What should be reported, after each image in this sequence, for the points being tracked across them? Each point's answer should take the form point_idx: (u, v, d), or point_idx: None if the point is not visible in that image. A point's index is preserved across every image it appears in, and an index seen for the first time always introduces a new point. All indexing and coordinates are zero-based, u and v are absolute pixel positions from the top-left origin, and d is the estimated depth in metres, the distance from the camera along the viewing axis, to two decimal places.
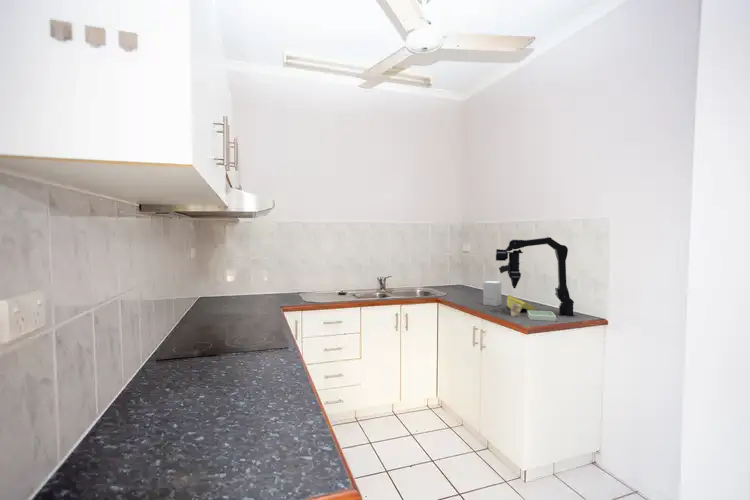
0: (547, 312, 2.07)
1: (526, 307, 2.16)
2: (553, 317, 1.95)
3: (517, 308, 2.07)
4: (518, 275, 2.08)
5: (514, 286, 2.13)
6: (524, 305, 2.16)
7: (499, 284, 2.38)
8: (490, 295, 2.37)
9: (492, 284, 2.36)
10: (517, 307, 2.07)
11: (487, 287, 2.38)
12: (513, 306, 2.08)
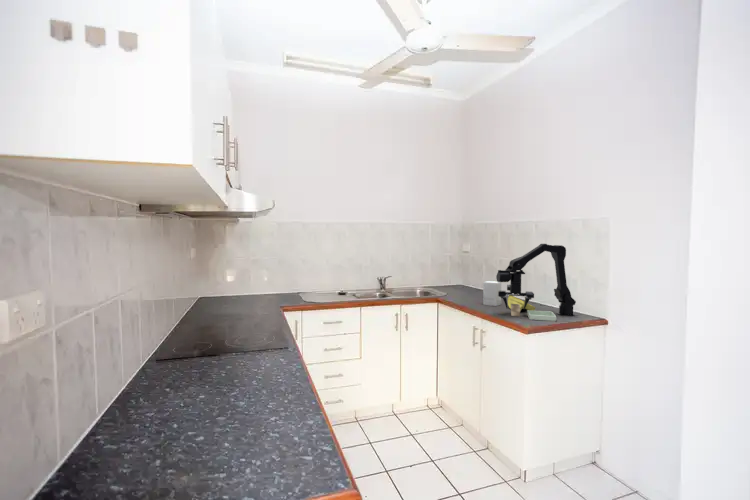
0: (547, 312, 2.07)
1: (526, 307, 2.16)
2: (553, 317, 1.95)
3: (517, 308, 2.07)
4: (498, 295, 2.10)
5: (506, 306, 2.11)
6: None
7: (499, 284, 2.38)
8: (490, 295, 2.37)
9: (492, 284, 2.36)
10: (517, 307, 2.07)
11: (487, 287, 2.38)
12: (513, 306, 2.08)
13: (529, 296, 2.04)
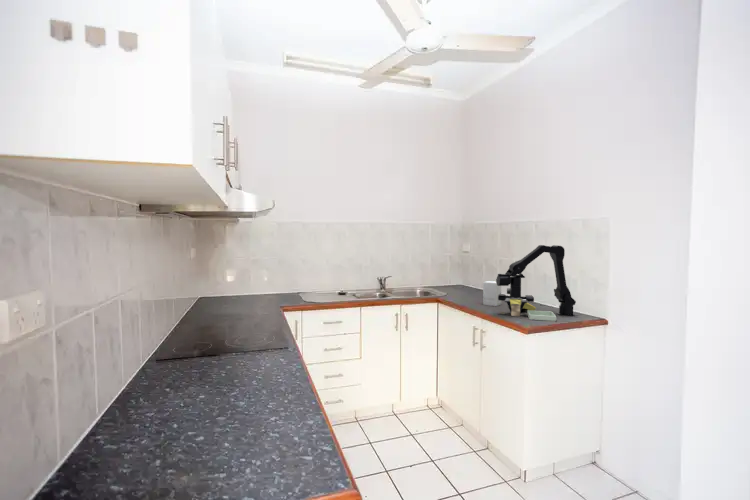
0: (547, 312, 2.07)
1: (526, 307, 2.16)
2: (553, 317, 1.95)
3: (517, 307, 2.07)
4: (498, 298, 2.10)
5: None
6: (524, 305, 2.16)
7: None
8: (490, 295, 2.37)
9: (492, 284, 2.36)
10: (517, 307, 2.07)
11: (487, 287, 2.38)
12: (513, 306, 2.08)
13: (529, 300, 2.04)
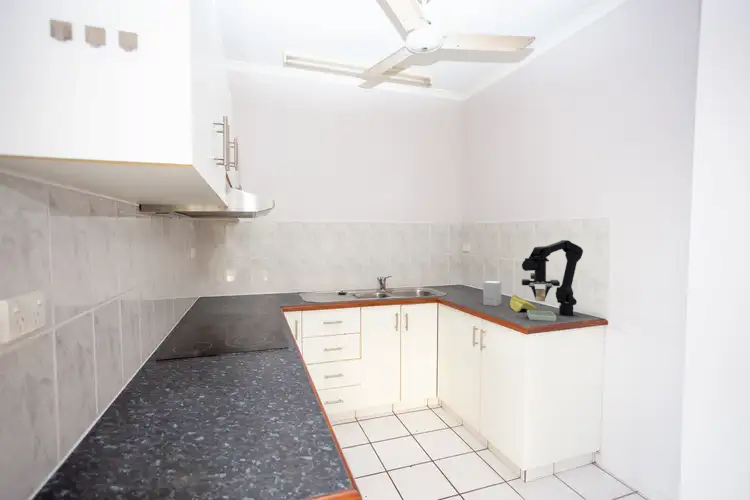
0: (547, 312, 2.07)
1: (526, 307, 2.16)
2: (553, 317, 1.95)
3: (542, 292, 2.00)
4: (522, 283, 2.03)
5: (534, 295, 2.03)
6: (524, 305, 2.16)
7: (499, 284, 2.38)
8: (490, 295, 2.37)
9: (492, 284, 2.36)
10: (541, 291, 2.00)
11: (487, 287, 2.38)
12: (538, 291, 2.01)
13: (554, 284, 1.97)
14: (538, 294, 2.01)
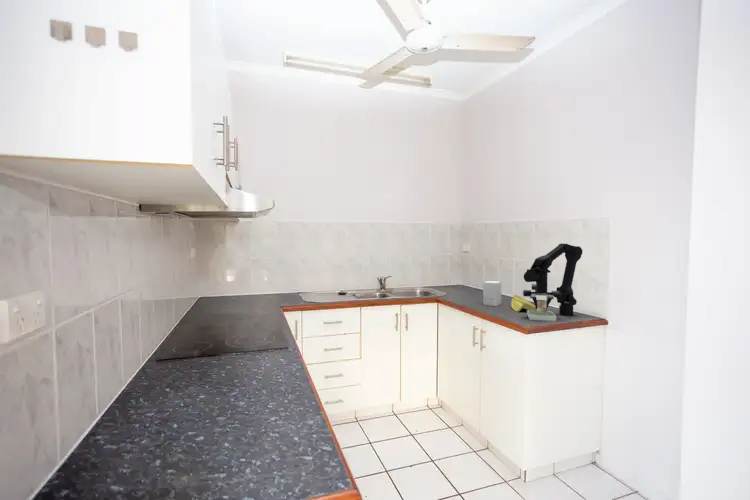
0: (547, 312, 2.07)
1: (526, 307, 2.17)
2: (553, 317, 1.95)
3: (543, 304, 2.00)
4: (523, 294, 2.03)
5: (535, 306, 2.03)
6: (524, 305, 2.16)
7: (499, 284, 2.38)
8: (490, 295, 2.37)
9: (492, 284, 2.36)
10: (543, 303, 2.00)
11: (487, 287, 2.38)
12: (539, 302, 2.00)
13: (556, 296, 1.97)
14: (539, 305, 2.00)
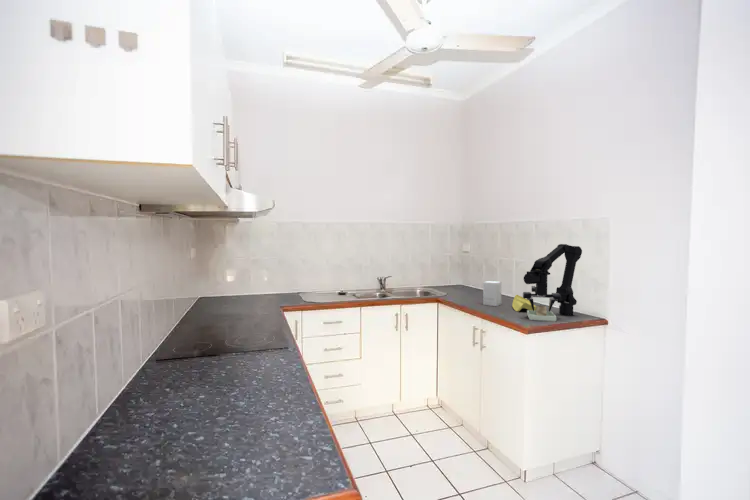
0: (547, 312, 2.07)
1: (526, 307, 2.17)
2: (553, 317, 1.95)
3: (543, 309, 2.00)
4: (523, 296, 2.03)
5: (532, 308, 2.04)
6: (524, 305, 2.17)
7: (499, 284, 2.38)
8: (490, 295, 2.37)
9: (492, 284, 2.36)
10: (543, 308, 2.00)
11: (487, 287, 2.38)
12: (539, 308, 2.01)
13: (556, 298, 1.97)
14: (539, 311, 2.01)
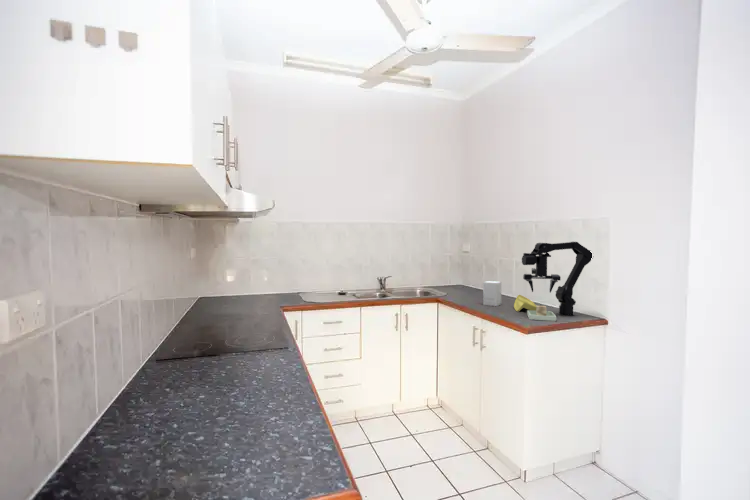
0: (547, 312, 2.07)
1: (526, 307, 2.17)
2: (553, 317, 1.95)
3: (543, 309, 2.00)
4: (524, 278, 2.10)
5: (531, 289, 2.11)
6: (524, 305, 2.17)
7: (499, 284, 2.38)
8: (490, 295, 2.37)
9: (492, 284, 2.36)
10: (543, 308, 2.00)
11: (487, 287, 2.38)
12: (539, 308, 2.01)
13: (555, 278, 2.04)
14: (539, 311, 2.01)
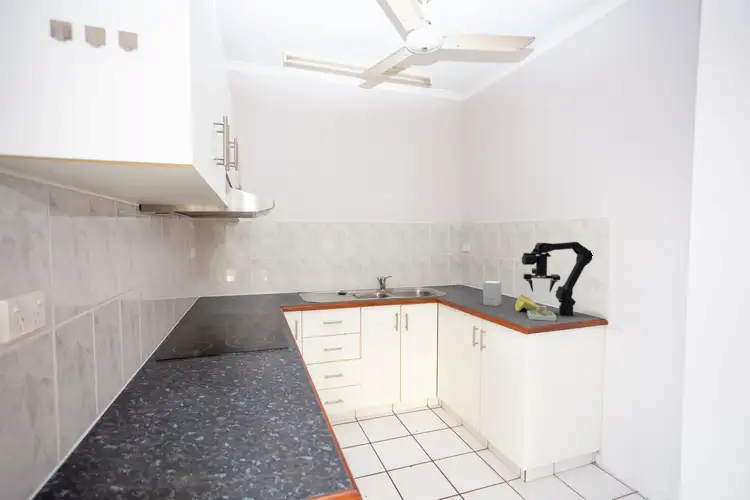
0: (547, 312, 2.07)
1: (526, 307, 2.17)
2: (553, 317, 1.95)
3: (543, 309, 2.00)
4: (524, 277, 2.10)
5: (531, 289, 2.11)
6: (524, 305, 2.17)
7: (499, 284, 2.38)
8: (490, 295, 2.37)
9: (492, 284, 2.36)
10: (543, 308, 2.00)
11: (487, 287, 2.38)
12: (539, 308, 2.01)
13: (555, 278, 2.05)
14: (539, 311, 2.01)
